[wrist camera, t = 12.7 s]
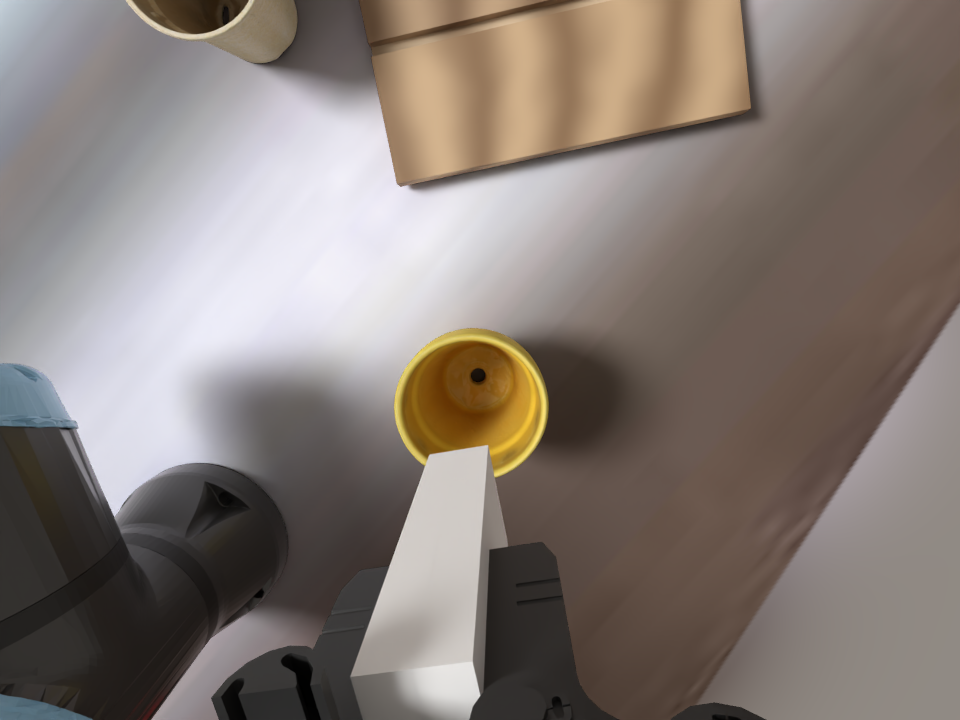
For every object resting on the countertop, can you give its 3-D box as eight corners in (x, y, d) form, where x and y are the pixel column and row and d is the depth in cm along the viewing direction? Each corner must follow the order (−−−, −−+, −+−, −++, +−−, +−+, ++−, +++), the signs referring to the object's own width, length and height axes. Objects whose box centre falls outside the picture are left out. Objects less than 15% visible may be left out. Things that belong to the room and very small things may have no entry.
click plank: (400, 186, 38) (397, 183, 37) (375, 64, 37) (370, 56, 36) (743, 114, 36) (750, 108, 35) (729, -19, 35) (737, -30, 34)
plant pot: (420, 309, 41) (395, 327, 32) (544, 319, 41) (557, 340, 31) (415, 426, 43) (390, 476, 34) (532, 436, 43) (541, 489, 34)
